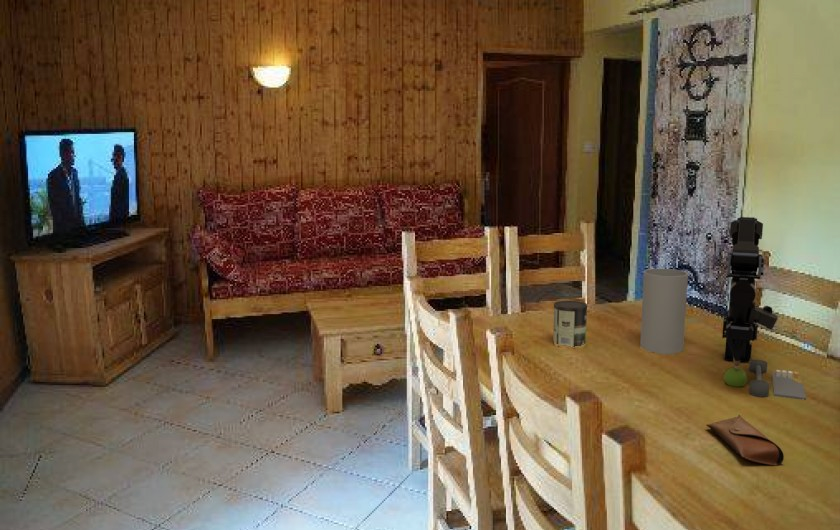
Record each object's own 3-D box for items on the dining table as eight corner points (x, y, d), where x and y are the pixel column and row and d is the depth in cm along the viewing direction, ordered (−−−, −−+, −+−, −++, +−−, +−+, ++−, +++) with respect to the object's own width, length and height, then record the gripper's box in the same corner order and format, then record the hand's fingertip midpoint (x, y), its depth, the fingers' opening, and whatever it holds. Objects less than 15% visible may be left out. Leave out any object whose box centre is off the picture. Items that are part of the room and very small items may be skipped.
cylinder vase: (676, 346, 220) (681, 268, 215) (687, 359, 207) (693, 276, 203) (636, 346, 221) (640, 268, 216) (644, 358, 209) (649, 276, 204)
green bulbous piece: (744, 384, 186) (748, 340, 184) (747, 392, 180) (750, 347, 178) (722, 381, 188) (725, 338, 186) (724, 389, 182) (727, 345, 180)
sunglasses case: (702, 422, 157) (723, 400, 156) (724, 441, 158) (744, 419, 157) (743, 458, 139) (766, 434, 138) (767, 479, 140) (790, 455, 139)
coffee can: (582, 342, 225) (583, 300, 222) (589, 352, 215) (590, 307, 212) (550, 342, 225) (551, 300, 222) (555, 352, 215) (556, 307, 212)
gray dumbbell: (748, 399, 175) (750, 384, 175) (748, 372, 195) (749, 358, 195) (768, 402, 173) (769, 386, 173) (766, 374, 193) (767, 360, 193)
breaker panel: (773, 399, 175) (774, 388, 174) (771, 377, 191) (772, 367, 190) (805, 403, 172) (806, 392, 171) (800, 380, 188) (801, 370, 188)
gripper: (778, 308, 168) (773, 370, 170) (775, 292, 184) (770, 349, 187) (727, 304, 172) (723, 364, 175) (729, 289, 189) (725, 344, 192)
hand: (737, 355), depth 182 cm, fingers open, 9 cm apart
